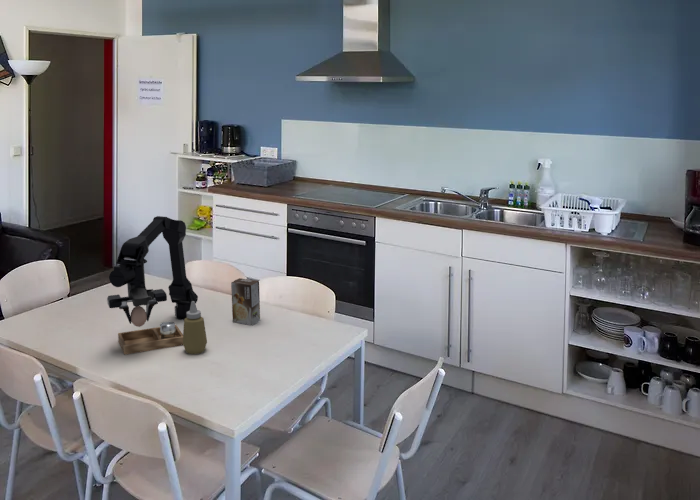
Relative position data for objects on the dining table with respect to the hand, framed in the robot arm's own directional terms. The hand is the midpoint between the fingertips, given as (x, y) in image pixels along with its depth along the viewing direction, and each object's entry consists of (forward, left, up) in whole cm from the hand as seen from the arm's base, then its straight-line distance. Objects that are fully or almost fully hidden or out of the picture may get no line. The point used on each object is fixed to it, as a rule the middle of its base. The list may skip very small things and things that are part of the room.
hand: (138, 322), depth 223 cm
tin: (-9, 0, -8) cm, 13 cm away
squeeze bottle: (-16, +13, -9) cm, 22 cm away
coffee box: (-41, -8, -9) cm, 42 cm away
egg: (0, 0, -2) cm, 2 cm away
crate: (-4, 0, -9) cm, 10 cm away
